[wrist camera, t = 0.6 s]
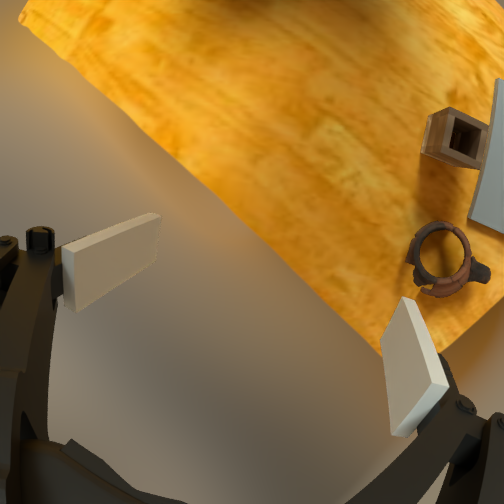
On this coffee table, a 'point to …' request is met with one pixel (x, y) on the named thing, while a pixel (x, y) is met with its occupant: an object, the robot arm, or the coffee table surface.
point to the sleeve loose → (466, 139)
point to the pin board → (492, 170)
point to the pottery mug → (451, 284)
